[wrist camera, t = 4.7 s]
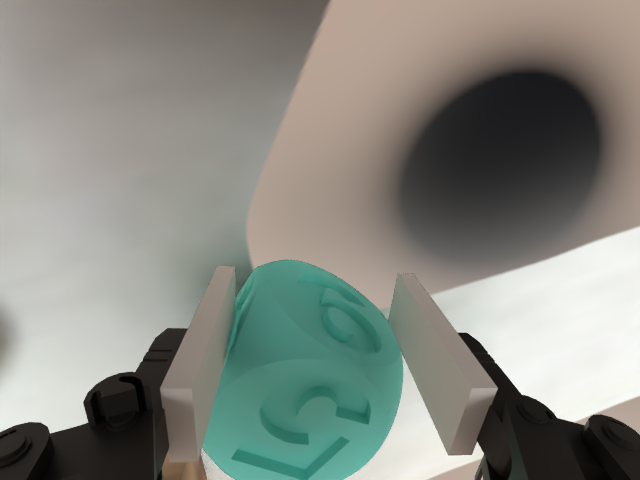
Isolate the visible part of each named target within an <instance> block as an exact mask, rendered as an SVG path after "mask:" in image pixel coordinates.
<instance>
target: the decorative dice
mask: <svg viewBox="0 0 640 480" xmlns="http://www.w3.org/2000/svg"><path fill="white" fill-rule="evenodd" d="M402 383H403V361H402V354H401V349H400V347H399V345H398V343H397V341H396V338H395V336H394V334H393V332H392V329H391V327H390V325H389V323H388V320H387V319H386V318H385V317H384V315H383V314H382V313H381V312H380V311H379V310H378V309H377V308H376V307H375V306H374V305H373V304H372V303H371V302H370V301H369V300H368V299H367V298H366V297H365V296H363V295H362V294H361V293H360V292H359V291H357V290H356V289H355V288H353V287H352V286H351V285H349V284H347V283H346V282H345V281H343V280H341V279H340V278H338V277H337V276H335V275H333V274H331V273H329V272H327V271H325V270H323V269H320V268H318V267H316V266H314V265H311V264H308V263H304V262H300V261H295V260H280V261H275V262H271V263H268V264H264V265H261V266H258V267H257V268H256V269H255V270H254V271H253V272H252V273H251V274H250V276H249V277H248V279H247V280H246V282H245V283H244V285H243V286H242V288H241V290H240V292H239V293H238V295H237V297H236V321H235V325H234V329H233V332H232V336H231V340H230V344H229V348H228V351H227V355H226V359H225V363H224V366H223V370H222V374H221V378H220V381H219V385H218V389H217V393H216V397H215V400H214V404H213V408H212V412H211V415H210V419H209V423H208V427H207V431H206V434H205V438H204V442H203V446H202V447H203V449H204V450H205V452H206V453H207V454H208V456H209V457H210V458H211V459H212V460H213V461H214V462H215V464H216V465H217V466H218V467H219V468H220V469H221V470H222V471H224V472H225V473H226V474H227V475H229V476H230V477H232V478H233V479H235V480H343V479H345V478H347V477H348V476H350V475H352V474H353V473H355V472H356V471H358V470H359V469H360V468H362V467H363V466H364V465H365V464H366V463H367V462H368V461H369V460H370V459H371V458H372V457H373V456H374V455H375V453H376V452H377V451H378V450H379V448H380V447H381V445H382V444H383V442H384V441H385V439H386V437H387V435H388V433H389V431H390V429H391V427H392V424H393V422H394V419H395V416H396V413H397V410H398V406H399V402H400V397H401V391H402Z"/></svg>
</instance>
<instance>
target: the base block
mask: <svg viewBox="0 0 640 480" xmlns="http://www.w3.org/2000/svg"><path fill="white" fill-rule="evenodd" d="M162 472H163V480H207V477H206V473H205V469H204V465H203V461H202V458H201V454H200V457H199V461H198V462H170V460H169V452H167V455H166V458H165V460H164V463H163V466H162Z"/></svg>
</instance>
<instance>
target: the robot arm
mask: <svg viewBox="0 0 640 480" xmlns="http://www.w3.org/2000/svg"><path fill="white" fill-rule="evenodd" d="M235 321H236V273H235V267H230V266H217V268H216V270H215V273H214V275H213V277H212V279H211V281H210V283H209V285H208V287H207V290H206V292H205V294H204V296H203V298H202V300H201V302H200V304H199V307H198V309H197V311H196V313H195V315H194V317H193V319H192V321H191V323H190V326H189V328H188V329H180V328H167V329H166V330H165V331H164V332H162V333H161V334H160V335H159V336H157V337H156V338H155V340H154V341H153V343H152V345H151V346H150V348H149V351H148V352H147V353H146V355H145V357H144V358H143V361H142V362H141V363H140V365H139V367H138V368H137V370H136V372H126V373H119V374H116V375H113V376H110V377H108V378H106V379H104V380H103V381H101V382H99V383H98V384H96V385H95V386H94V387H93V388H92V389H91V390H90V391H89V392H88V394H87V396H86V398H85V400H84V402H83V403H84V407H85V411H86V414H87V418H88V422H89V423H86V424H83V425H81V426H77V427H73V428H70V429H66V430H62V431H59V432H55V433H51V434H50V433H49V430H48V427H47V426H45V425H43V424H42V423H35V422H28V423H24V424H20V425H16V426H13V427H11V428H9V429H7V430H4V431H2V432H0V480H163V472H162V466H163V463H164V460H165V458H166V455H167V452H169V460H170V462H198V461H199V457H200V453H201V449H202V446H203V442H204V438H205V434H206V431H207V427H208V423H209V419H210V415H211V412H212V408H213V404H214V400H215V397H216V393H217V389H218V385H219V381H220V378H221V374H222V370H223V366H224V363H225V359H226V355H227V351H228V348H229V344H230V340H231V336H232V332H233V329H234V325H235ZM388 323H389V325H390V327H391V329H392V332H393V334H394V336H395V338H396V341H397V343H398V345H399V347H400V349H401V352H402V354H403V356H404V358H405V361H406V363H407V365H408V367H409V369H410V372H411V374H412V376H413V378H414V380H415V383H416V385H417V387H418V389H419V392H420V394H421V396H422V398H423V400H424V403H425V405H426V407H427V409H428V412H429V414H430V416H431V418H432V420H433V423H434V425H435V427H436V429H437V431H438V434H439V436H440V438H441V440H442V443H443V445H444V447H445V449H446V451H447V454H448V455H472V453H473V450H474V448H475V445H476V443H477V442H478V443H479V445H480V447H481V449H482V451H483V452H484V456H483V458H482V460H481V463H480V465H479V468H478V470H477V472H476V475H475V480H481V477H482V475H483V480H640V435H639V434H638V433H637V432H636V431H635V430H633V429H632V428H630V427H629V426H627V425H626V424H624V423H622V422H620V421H618V420H616V419H614V418H612V417H608V416H604V415H592V416H591V417H590V418H589V419H588V421H587V423H586V425H581V424H577V423H573V422H569V421H566V420H562V419H558V418H557V417H556V416H555V415H554V413H553V412H552V411H551V410H550V409H549V408H547V407H546V406H545V405H544V404H542V403H541V402H539V401H537V400H536V399H533V398H531V397H528V396H526V395H521V393H520V392H519V391H518V390H517V388H516V387H515V386H514V385H513V383H512V382H511V381H510V380H509V378H508V377H507V376H506V375H505V373H504V372H503V371H502V370H501V368H500V367H499V366H498V365H497V364H496V363H495V361H494V360H493V359H492V357H491V356H490V355H488V352H487V351H486V350H485V349H484V347H483V346H482V345H481V344H480V342H479V341H477V340H476V339H475V338H473V337H472V336H470V335H469V334H468V333H457V332H456V330H455V329H454V328H453V326H452V325H451V324H450V322H449V321H448V320H447V318H446V317H445V315H444V314H443V313H442V311H441V310H440V309H439V307H438V306H437V305H436V303H435V302H434V301H433V299H432V298H431V297H430V295H429V294H428V292H427V291H426V290H425V288H424V287H423V286H422V284H421V283H420V282H419V280H418V279H417V278H416V276H415V275H414V274H408V273H398V275H397V280H396V285H395V290H394V295H393V300H392V305H391V310H390V315H389V320H388Z"/></svg>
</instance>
